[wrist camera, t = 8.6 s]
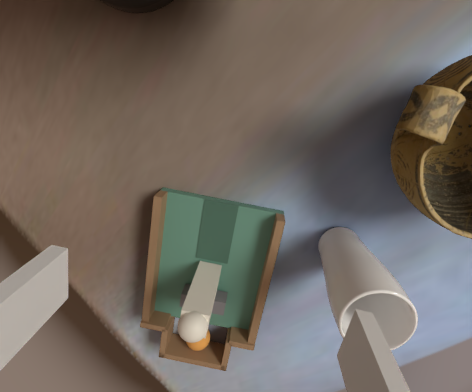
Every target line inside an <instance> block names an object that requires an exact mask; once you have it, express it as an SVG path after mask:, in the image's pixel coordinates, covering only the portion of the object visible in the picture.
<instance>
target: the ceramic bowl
mask: <svg viewBox="0 0 472 392" xmlns="http://www.w3.org/2000/svg"><path fill="white" fill-rule="evenodd" d="M469 125H470V127H469ZM459 133H460V135H459ZM391 164H392V169H393V173H394V176H395V178H396V181H397V183H398V185H399V186H400V188H401V190H402V191H403V193H404V194H405V195H406V197H407V198H408V199H409V201H410V202H411V203H412V204H413V205H414V206H415V207H416V208H417V209H418V210H419V211H420V212H421V213H422V214H424V215H425V216H426V217H428V218H429V219H431V220H432V221H434V222H436V223H437V224H439V225H441V226H442V227H444V228H446V229H448V230H450V231H452V232H453V233H455V234H458V235H461V236H464V237H468V238H471V239H472V55H471V56H468V57H466V58H463V59H461V60H459V61H457V62H455V63H453V64H451V65H449V66H448V67H446V68H444V69H443V70H441V71H440V72H438V73H437V74H435V75H434V76H432V77H431V78H430V79H428V80H427V81H426V82H425V83H424V84H423V85H417V86H415V87H414V89H413V91H412V94H411V97H410V99H409V101H408V104H407V106H406V107H405V109H404V110H403V112H402V115H401V117H400V119H399V122H398V124H397V126H396V129H395V132H394V135H393V138H392V143H391Z"/></svg>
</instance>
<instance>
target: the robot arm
mask: <svg viewBox="0 0 472 392" xmlns="http://www.w3.org/2000/svg"><path fill="white" fill-rule="evenodd" d="M100 1H102V2H104V3H105V4H107V5H109V6H111V7H113V8H116V9H118V10H121V11H125V12H132V13H144V12H150V11H154V10H157V9H159V8H162V7H164V6H166V5H167V4H169V3H170V2H172V1H173V0H100ZM67 299H68V248H64V247H59V246H54V245H51V246H49V247H48V248H47V249H45V250H44V251H43V252H41V253H40V254H39V255H37V256H36V257H35V258H33V259H32V260H31V261H29V262H28V263H26V264H25V265H24V266H22V267H21V268H20V269H18V270H17V271H16V272H14V273H13V274H12V275H10V276H9V277H8V278H6V279H5V280H3V281H2V282H1V283H0V371H1V369H2V368H3V367H4V366H5V365H6V364H7V363H8V362H9V361H10V360H11V359H12V357H14V356H15V354H16V353H17V352H18V351H19V350H20V349H21V348H22V347H23V346H24V345H25V344H26V342H28V340H29V339H30V338H31V337H32V336H33V335H34V334H35V333H36V332H37V331H38V330H39V329H40V327H42V325H43V324H44V323H45V322H46V321H47V320H48V319H49V318H50V317H51V315H53V314H54V313H55V311H56V310H57V309H58V308H59V307H60V306H61V305H62V304H63V303H64V302H65V301H66V300H67ZM337 357H338V361H339V365H340V368H341V372H342V376H343V379H344V383H345V387H346V390H347V392H410V389H409V387H408V385H407V383H406V381H405V379H404V377H403V375H402V373H401V371H400V369H399V367H398V365H397V362H396V360H395V358H394V356H393V354H392V352H391V350H390V348H389V346H388V344H387V342H386V340H385V338H384V335H383V333H382V331H381V329H380V327H379V325H378V323H377V321H376V319H375V317H374V315H373V313H372V312H367V311H362V310H358V309H355V311H354V314H353V316H352V319H351V321H350V324H349V326H348V329H347V332H346V334H345V337H344V339H343V342H342V344H341V347H340V349H339V352H338V354H337Z"/></svg>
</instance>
